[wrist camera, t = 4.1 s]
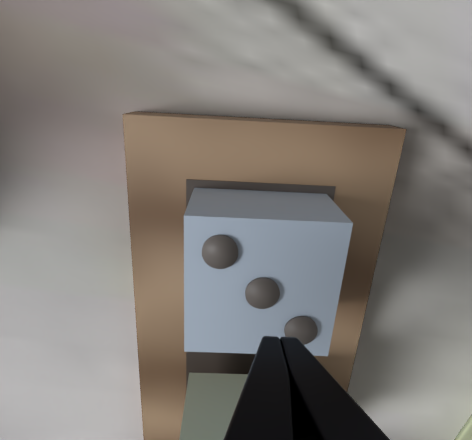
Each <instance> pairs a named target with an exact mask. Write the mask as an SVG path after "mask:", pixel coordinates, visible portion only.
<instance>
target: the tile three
mask: <svg viewBox="0 0 472 440" xmlns="http://www.w3.org/2000/svg"><path fill="white" fill-rule="evenodd" d="M352 227H353V222H352V221H351V220H350V219H349V218H348V217H347V216H346V215H345V214H344V212H343V211H342V210H341V209H340V208H339V207H338V206H337V205H336V204H335V203H334V201H333V200H332V199H331V198H330V197H329V196H328V195H327V194H318V193H296V192H275V191H254V190H232V189H211V188H194V190H193V192H192V195H191V198H190V200H189V203H188V206H187V208H186V211H185V214H184V352H215V353H246V354H256V352H257V350H258V347H259V344H260V342H261V339H262V337H263V336H277V337H279V339H280V338H281V337H296V338H298V339H299V340H300V341H301V342H302V343H303V345H304V346H305V347H306V348H307V349H308V350H309V351H310V352H311V353H312V354H313V356H328V353H329V348H330V343H331V337H332V332H333V327H334V322H335V316H336V311H337V306H338V300H339V295H340V290H341V285H342V279H343V274H344V269H345V263H346V258H347V253H348V248H349V242H350V237H351V232H352Z"/></svg>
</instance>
